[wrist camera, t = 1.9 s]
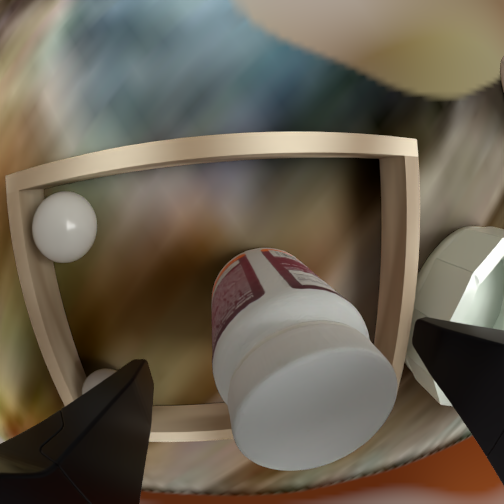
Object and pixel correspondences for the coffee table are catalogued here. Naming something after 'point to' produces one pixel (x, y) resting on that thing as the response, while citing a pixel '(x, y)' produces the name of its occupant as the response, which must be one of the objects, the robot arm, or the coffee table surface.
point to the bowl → (459, 289)
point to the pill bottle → (294, 364)
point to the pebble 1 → (64, 227)
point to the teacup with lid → (502, 72)
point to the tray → (206, 151)
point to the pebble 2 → (96, 378)
